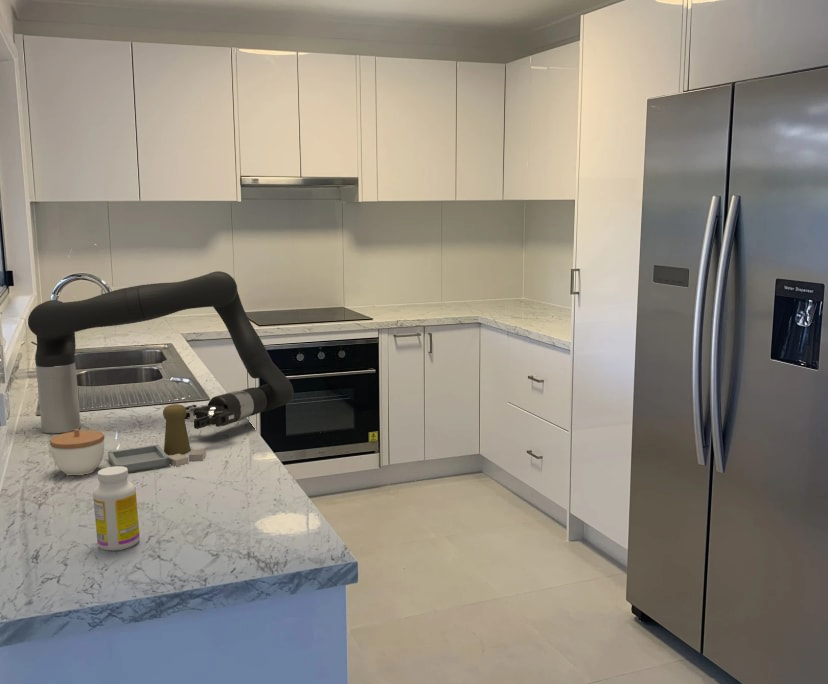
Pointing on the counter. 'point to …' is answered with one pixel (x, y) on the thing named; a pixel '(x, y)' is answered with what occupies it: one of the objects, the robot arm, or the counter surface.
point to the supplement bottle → (115, 510)
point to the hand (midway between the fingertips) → (182, 422)
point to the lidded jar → (78, 451)
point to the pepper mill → (175, 430)
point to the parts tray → (140, 458)
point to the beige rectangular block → (197, 455)
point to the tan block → (178, 460)
